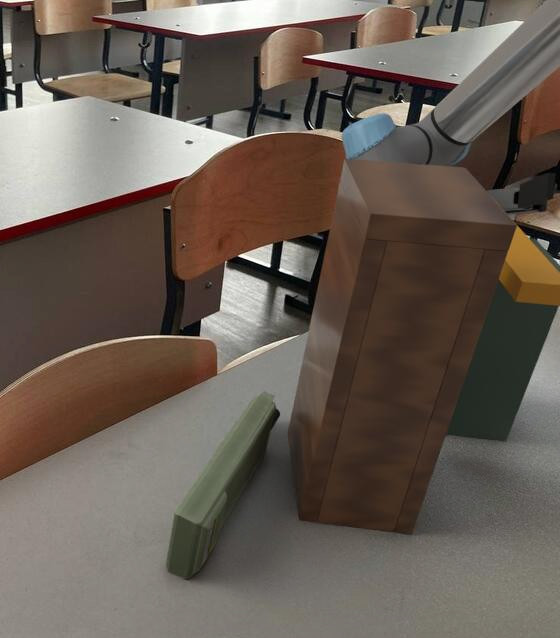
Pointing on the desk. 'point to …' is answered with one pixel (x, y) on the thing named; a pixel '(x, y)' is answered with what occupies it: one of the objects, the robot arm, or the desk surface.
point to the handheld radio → (219, 487)
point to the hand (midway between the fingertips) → (483, 180)
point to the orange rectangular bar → (529, 273)
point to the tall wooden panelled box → (391, 338)
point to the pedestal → (502, 364)
